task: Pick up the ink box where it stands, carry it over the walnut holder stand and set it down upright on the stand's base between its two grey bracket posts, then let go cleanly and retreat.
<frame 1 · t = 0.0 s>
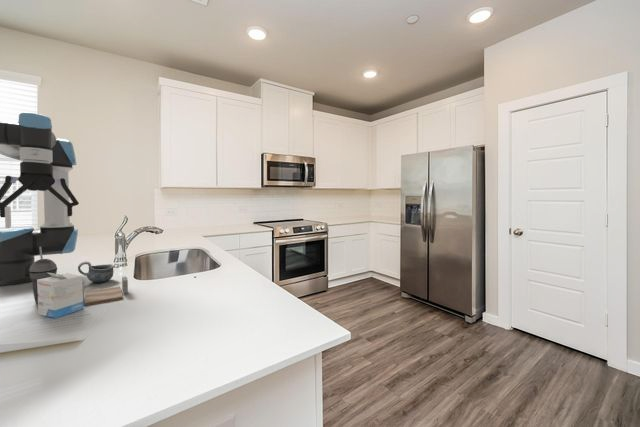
hand: (38, 226, 92), 28 cm above the counter, fingers open, 13 cm apart
ink box: (61, 312, 92), on the counter
mug: (97, 283, 123), on the counter
roll holder: (103, 296, 106), on the counter
beverage cup: (44, 302, 100), on the counter
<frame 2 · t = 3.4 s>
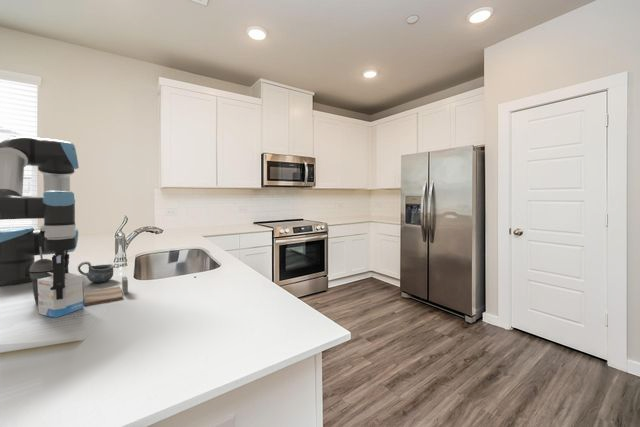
hand: (62, 303, 92), 3 cm above the counter, fingers closed on ink box, 11 cm apart
ink box: (61, 311, 92), on the counter, touching gripper
everything else where it was.
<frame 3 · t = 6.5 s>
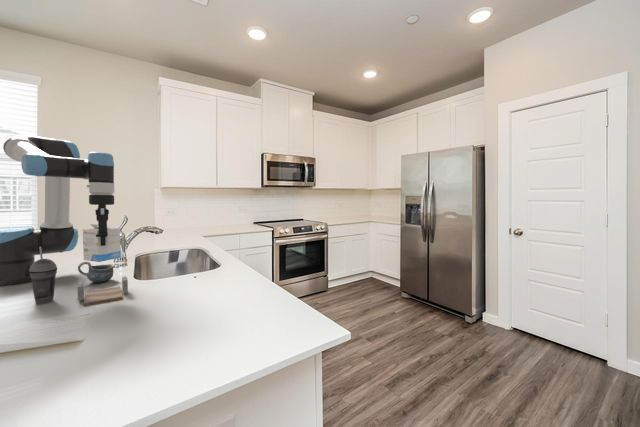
hand: (102, 251, 105), 17 cm above the counter, fingers closed on ink box, 11 cm apart
ink box: (102, 259, 105), point 14 cm above the counter, touching gripper
everything else where it was.
when the fingers open (5 cm above the counter, at t = 9.6 s): ink box drops 1 cm, resting on roll holder.
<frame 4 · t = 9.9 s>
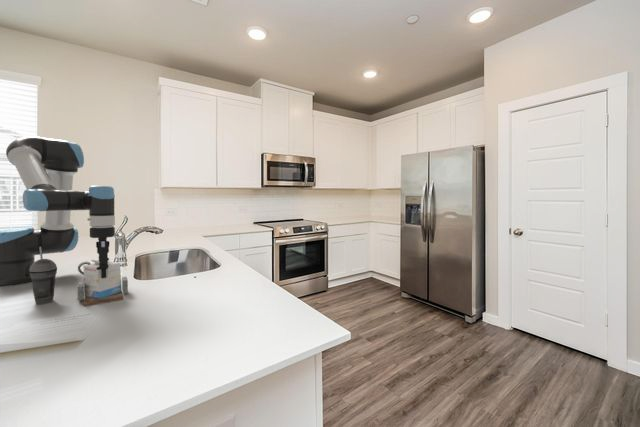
hand: (103, 281, 106), 6 cm above the counter, fingers open, 13 cm apart
ink box: (103, 294, 106), point 1 cm above the counter, touching roll holder
everything else where it was.
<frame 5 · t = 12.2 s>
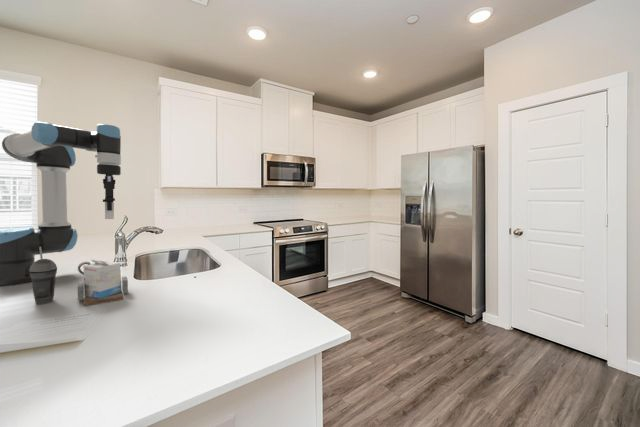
hand: (109, 217, 112), 30 cm above the counter, fingers open, 13 cm apart
nothing on the counter moved.
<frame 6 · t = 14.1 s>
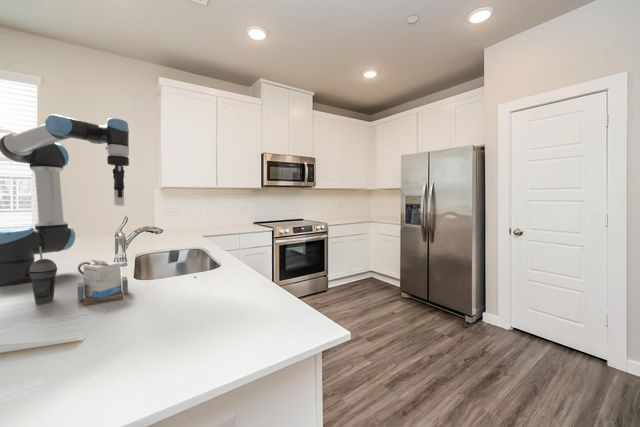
hand: (119, 205, 120), 35 cm above the counter, fingers open, 13 cm apart
nothing on the counter moved.
at the end: ink box 0.2 cm from the roll holder (horizontally); ink box tilted 0°; ink box touching roll holder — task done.
